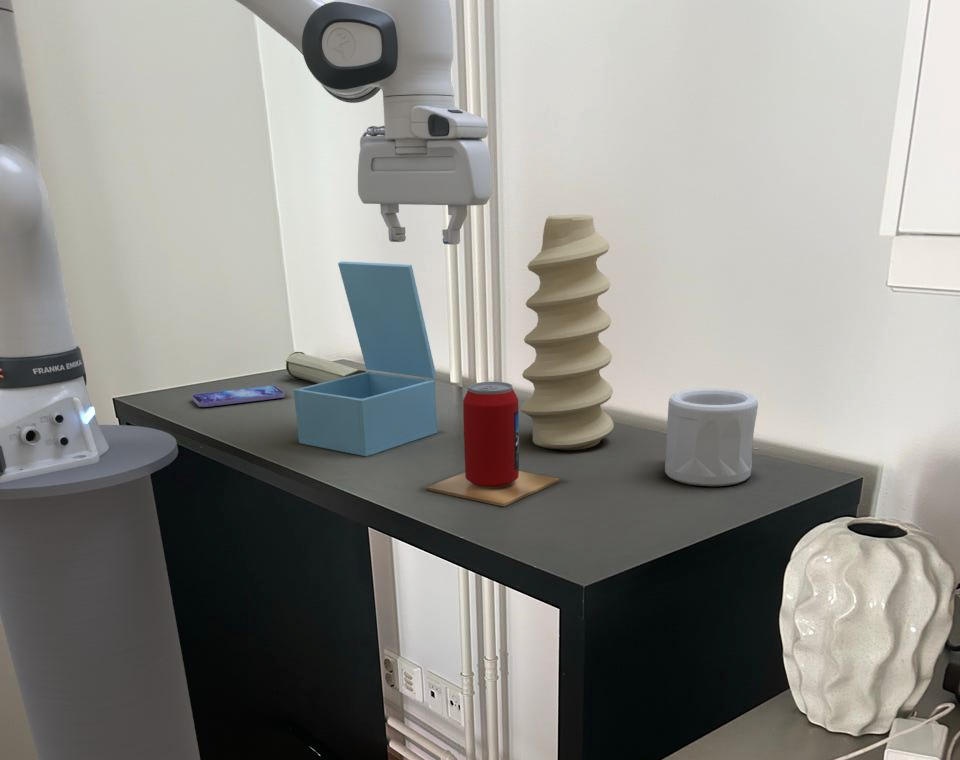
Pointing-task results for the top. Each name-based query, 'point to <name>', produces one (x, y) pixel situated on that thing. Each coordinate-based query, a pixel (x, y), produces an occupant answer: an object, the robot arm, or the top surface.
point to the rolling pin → (317, 368)
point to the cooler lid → (388, 317)
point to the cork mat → (496, 496)
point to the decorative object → (569, 337)
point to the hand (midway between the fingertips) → (423, 243)
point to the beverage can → (491, 434)
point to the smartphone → (237, 396)
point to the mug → (710, 436)
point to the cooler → (366, 412)
